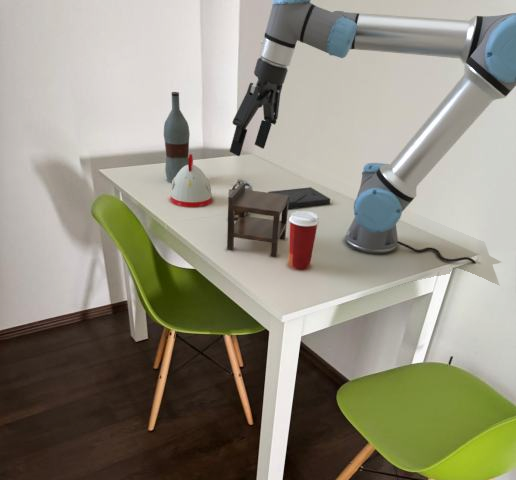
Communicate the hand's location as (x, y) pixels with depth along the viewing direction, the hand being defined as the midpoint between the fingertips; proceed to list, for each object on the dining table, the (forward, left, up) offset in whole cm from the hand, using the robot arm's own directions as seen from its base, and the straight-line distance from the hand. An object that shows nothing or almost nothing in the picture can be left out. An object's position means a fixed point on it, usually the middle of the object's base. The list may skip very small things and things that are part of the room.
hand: (247, 150), depth 132 cm
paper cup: (-18, +9, -26) cm, 33 cm away
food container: (+6, -21, -26) cm, 34 cm away
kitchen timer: (+26, -29, -26) cm, 47 cm away
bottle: (+38, -48, -26) cm, 66 cm away
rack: (-4, -1, -26) cm, 26 cm away
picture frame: (-9, -43, -26) cm, 51 cm away
